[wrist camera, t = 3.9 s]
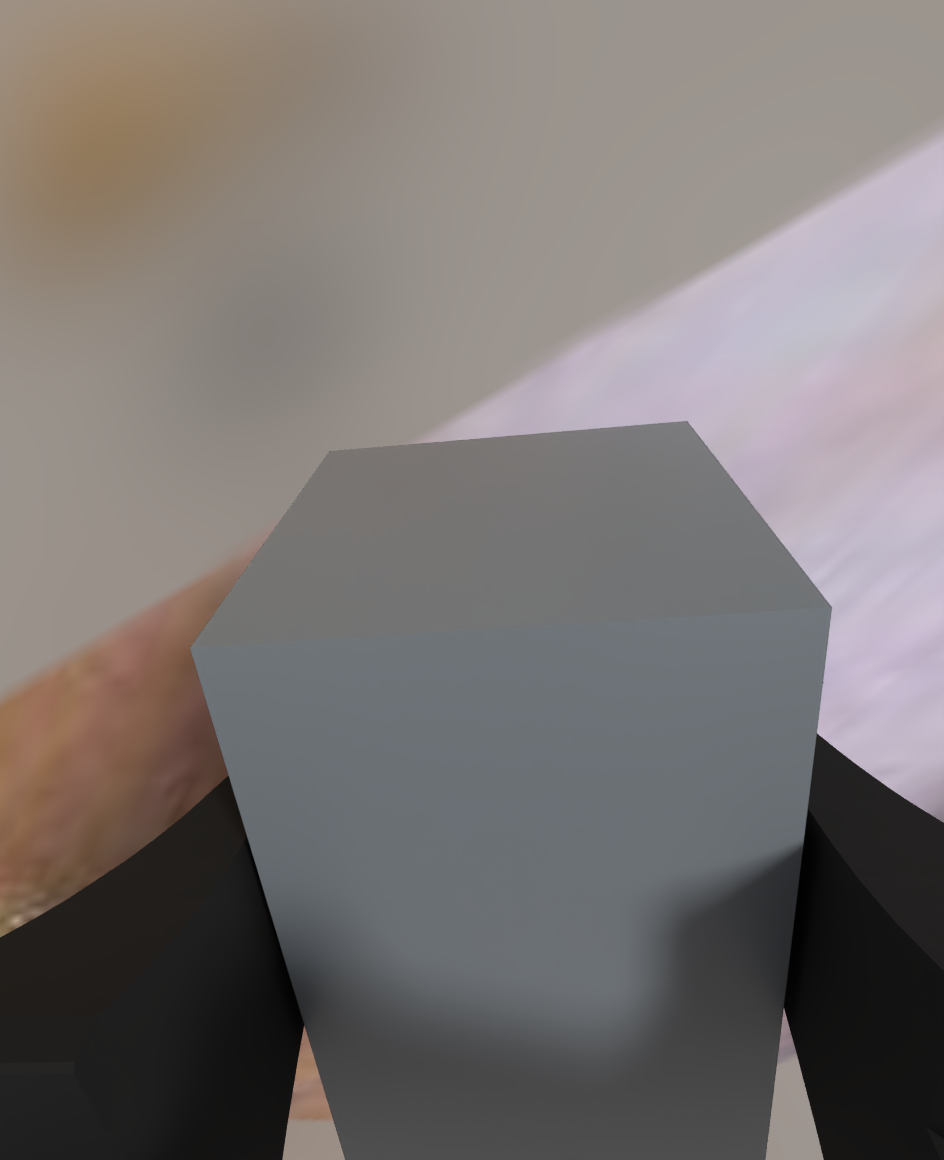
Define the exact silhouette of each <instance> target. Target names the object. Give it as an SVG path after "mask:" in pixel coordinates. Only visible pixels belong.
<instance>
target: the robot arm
mask: <svg viewBox="0 0 944 1160" xmlns="http://www.w3.org/2000/svg"><path fill="white" fill-rule="evenodd" d="M784 1009H785V1013H786V1017H787V1020H788V1024H789V1027H790V1031H791V1035H792V1038H793V1042H794V1045H795V1049H796V1053H797V1056H798V1060H799V1064H800V1068H801V1071H802V1076H803V1079H804V1083H805V1087H806V1091H807V1095H808V1098H809V1102H810V1106H811V1110H812V1114H813V1118H814V1121H815V1125H816V1130H817V1134H818V1137H819V1141H820V1145H821V1150H822V1154H823V1158H824V1160H944V823H943V822H941V821H940V820H938V819H936V818H935V817H933V816H932V815H930V814H928V813H927V812H925V811H924V810H922V809H920V808H919V807H917V806H915V805H914V804H912V803H911V802H909V801H907V800H906V799H904V798H903V797H901V796H900V795H898V794H897V793H895V792H894V791H892V790H891V789H890V788H888V787H887V786H885V785H884V784H883V783H881V782H880V781H878V780H877V779H876V778H874V777H873V776H871V775H870V774H869V773H867V772H866V771H865V770H863V769H862V768H860V767H859V766H858V765H856V764H855V763H854V762H852V761H851V760H850V759H848V758H847V757H846V756H844V755H843V754H842V753H841V752H839V751H838V750H837V749H836V748H834V747H833V746H832V745H830V744H829V743H828V742H827V741H826V740H824V739H823V738H822V737H821V736H819V735H818V734H817V735H816V743H815V752H814V760H813V768H812V777H811V785H810V793H809V801H808V810H807V818H806V826H805V835H804V843H803V851H802V859H801V868H800V876H799V884H798V893H797V901H796V909H795V917H794V926H793V934H792V942H791V951H790V959H789V967H788V975H787V984H786V992H785V1000H784ZM303 1028H304V1022H303V1019H302V1015H301V1012H300V1009H299V1005H298V1002H297V999H296V995H295V992H294V989H293V986H292V982H291V979H290V976H289V972H288V969H287V966H286V963H285V959H284V956H283V953H282V949H281V946H280V943H279V940H278V936H277V933H276V930H275V926H274V923H273V920H272V916H271V913H270V910H269V907H268V903H267V900H266V897H265V893H264V890H263V887H262V884H261V880H260V877H259V874H258V870H257V867H256V864H255V860H254V857H253V854H252V851H251V847H250V844H249V841H248V837H247V834H246V831H245V828H244V824H243V821H242V818H241V814H240V811H239V808H238V805H237V801H236V798H235V795H234V791H233V788H232V785H231V781H230V778H229V776H228V777H227V778H225V779H224V780H223V781H222V782H221V783H220V784H219V785H218V786H217V787H215V788H214V789H213V790H212V791H211V792H210V793H209V794H208V795H207V796H206V797H204V798H203V799H202V800H201V801H200V802H199V803H198V804H197V805H196V806H194V807H193V808H192V809H191V810H190V811H189V812H188V813H187V814H185V815H184V816H183V817H182V818H181V819H179V820H178V821H177V822H176V823H175V824H173V825H172V826H171V827H170V828H168V829H167V830H166V831H165V832H163V833H162V834H161V835H160V836H158V837H157V838H156V839H154V840H153V841H152V842H150V843H149V844H148V845H146V846H145V847H144V848H142V849H141V850H140V851H138V852H137V853H136V854H134V855H133V856H132V857H130V858H129V859H127V860H126V861H125V862H123V863H122V864H120V865H119V866H117V867H116V868H114V869H113V870H111V871H110V872H108V873H107V874H105V875H104V876H102V877H101V878H99V879H98V880H96V881H95V882H93V883H91V884H90V885H88V886H87V887H85V888H84V889H82V890H81V891H79V892H78V893H76V894H75V895H73V896H72V897H70V898H69V899H67V900H65V901H64V902H62V903H60V904H59V905H57V906H55V907H54V908H52V909H50V910H48V911H47V912H45V913H43V914H42V915H40V916H38V917H37V918H35V919H33V920H31V921H29V922H28V923H26V924H24V925H22V926H20V927H19V928H17V929H15V930H13V931H11V932H10V933H8V934H6V935H4V936H2V937H0V1160H282V1158H283V1151H284V1144H285V1137H286V1129H287V1123H288V1117H289V1111H290V1105H291V1099H292V1093H293V1086H294V1080H295V1074H296V1068H297V1062H298V1056H299V1051H300V1045H301V1039H302V1034H303Z"/></svg>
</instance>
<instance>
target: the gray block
mask: <svg viewBox="0 0 944 1160" xmlns="http://www.w3.org/2000/svg"><path fill="white" fill-rule="evenodd" d="M831 611H832V607H831V606H830V604H829V603H828V602H827V600H826V599H825V598H824V597H823V595H822V594H821V593H820V591H819V590H818V589H817V588H816V586H815V585H814V584H813V582H812V581H811V580H810V579H809V577H808V576H807V575H806V573H805V572H804V571H803V570H802V568H801V567H800V566H799V564H798V563H797V562H796V561H795V559H794V558H793V557H792V555H791V554H790V553H789V552H788V550H787V549H786V548H785V546H784V545H783V544H782V543H781V541H780V540H779V539H778V537H777V536H776V535H775V533H774V532H773V531H772V530H771V528H770V527H769V526H768V524H767V523H766V522H765V521H764V519H763V518H762V517H761V515H760V514H759V513H758V512H757V510H756V509H755V508H754V506H753V505H752V504H751V503H750V501H749V500H748V499H747V497H746V496H745V495H744V494H743V492H742V491H741V490H740V488H739V487H738V486H737V485H736V483H735V482H734V481H733V479H732V478H731V477H730V476H729V474H728V473H727V472H726V470H725V469H724V468H723V467H722V465H721V464H720V463H719V461H718V460H717V459H716V457H715V456H714V455H713V454H712V452H711V451H710V450H709V448H708V447H707V446H706V445H705V443H704V442H703V441H702V439H701V438H700V437H699V436H698V434H697V433H696V432H695V430H694V429H693V428H692V427H691V425H690V424H689V423H688V421H683V422H671V423H659V424H647V425H635V426H624V427H612V428H600V429H588V430H576V431H564V432H552V433H541V434H529V435H517V436H505V437H493V438H481V439H469V440H458V441H446V442H434V443H422V444H410V445H398V446H386V447H375V448H363V449H351V450H339V451H329V453H328V454H327V455H326V457H325V458H324V460H323V461H322V462H321V464H320V466H319V467H318V468H317V469H316V471H315V472H314V474H313V475H312V476H311V478H310V479H309V481H308V482H307V484H306V485H305V486H304V488H303V489H302V491H301V492H300V493H299V495H298V496H297V498H296V499H295V501H294V502H293V503H292V505H291V506H290V508H289V509H288V510H287V512H286V513H285V515H284V516H283V517H282V519H281V520H280V522H279V523H278V525H277V526H276V527H275V529H274V530H273V532H272V533H271V534H270V536H269V537H268V539H267V540H266V541H265V543H264V544H263V546H262V547H261V549H260V550H259V551H258V553H257V554H256V556H255V557H254V558H253V560H252V561H251V563H250V564H249V565H248V567H247V568H246V570H245V571H244V573H243V574H242V575H241V577H240V578H239V580H238V581H237V582H236V584H235V585H234V587H233V588H232V589H231V591H230V592H229V594H228V595H227V597H226V598H225V599H224V601H223V602H222V604H221V605H220V606H219V608H218V609H217V611H216V612H215V614H214V615H213V616H212V618H211V619H210V621H209V622H208V623H207V625H206V626H205V628H204V629H203V630H202V632H201V633H200V635H199V636H198V638H197V639H196V640H195V642H194V643H193V645H192V646H191V647H190V650H191V653H192V656H193V660H194V663H195V666H196V670H197V673H198V676H199V679H200V683H201V686H202V689H203V693H204V696H205V699H206V702H207V706H208V709H209V712H210V716H211V719H212V722H213V725H214V729H215V732H216V735H217V739H218V742H219V745H220V749H221V752H222V755H223V758H224V762H225V765H226V768H227V772H228V775H229V778H230V781H231V785H232V788H233V791H234V795H235V798H236V801H237V805H238V808H239V811H240V814H241V818H242V821H243V824H244V828H245V831H246V834H247V837H248V841H249V844H250V847H251V851H252V854H253V857H254V860H255V864H256V867H257V870H258V874H259V877H260V880H261V884H262V887H263V890H264V893H265V897H266V900H267V903H268V907H269V910H270V913H271V916H272V920H273V923H274V926H275V930H276V933H277V936H278V940H279V943H280V946H281V949H282V953H283V956H284V959H285V963H286V966H287V969H288V972H289V976H290V979H291V982H292V986H293V989H294V992H295V995H296V999H297V1002H298V1005H299V1009H300V1012H301V1015H302V1019H303V1022H304V1025H305V1028H306V1032H307V1035H308V1038H309V1042H310V1045H311V1048H312V1051H313V1055H314V1058H315V1061H316V1065H317V1068H318V1071H319V1075H320V1078H321V1081H322V1084H323V1088H324V1091H325V1094H326V1098H327V1101H328V1104H329V1107H330V1111H331V1114H332V1117H333V1121H334V1124H335V1127H336V1130H337V1134H338V1137H339V1140H340V1143H341V1147H342V1150H343V1153H344V1157H345V1160H765V1158H766V1149H767V1141H768V1132H769V1125H770V1116H771V1108H772V1100H773V1092H774V1082H775V1075H776V1067H777V1058H778V1050H779V1042H780V1034H781V1025H782V1017H783V1009H784V1000H785V992H786V984H787V975H788V967H789V959H790V951H791V942H792V934H793V926H794V917H795V909H796V901H797V893H798V884H799V876H800V868H801V859H802V851H803V843H804V835H805V826H806V818H807V810H808V801H809V793H810V785H811V777H812V768H813V760H814V752H815V743H816V735H817V727H818V718H819V710H820V702H821V694H822V685H823V677H824V669H825V660H826V652H827V644H828V636H829V627H830V619H831Z"/></svg>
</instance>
